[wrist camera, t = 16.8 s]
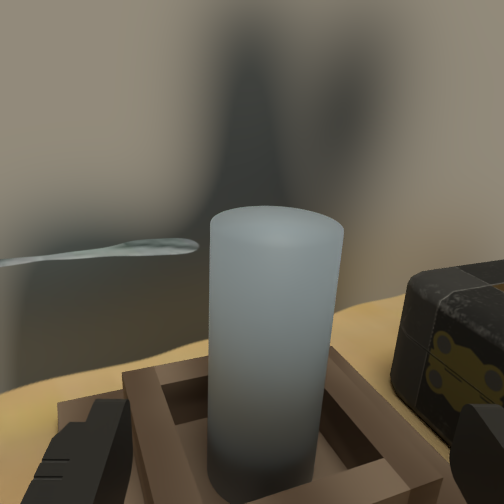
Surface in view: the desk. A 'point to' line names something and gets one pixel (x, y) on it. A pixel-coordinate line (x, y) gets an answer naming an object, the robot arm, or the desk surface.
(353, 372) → the holder
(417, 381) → the cash box
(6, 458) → the desk surface
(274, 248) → the cylinder
